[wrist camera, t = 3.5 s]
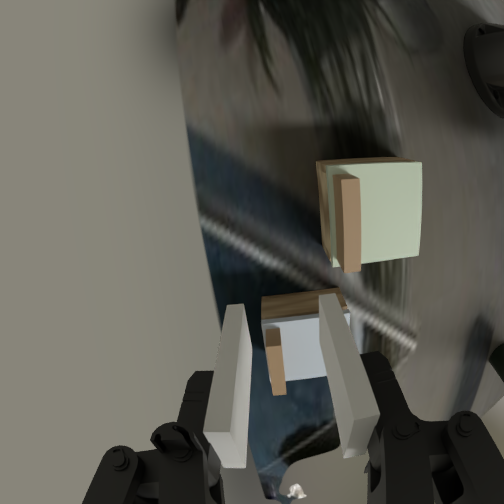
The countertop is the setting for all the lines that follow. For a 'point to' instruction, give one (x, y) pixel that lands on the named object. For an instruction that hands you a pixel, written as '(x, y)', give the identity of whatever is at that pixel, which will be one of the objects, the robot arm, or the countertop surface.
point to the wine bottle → (498, 361)
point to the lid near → (374, 212)
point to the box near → (324, 191)
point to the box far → (296, 303)
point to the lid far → (293, 349)
